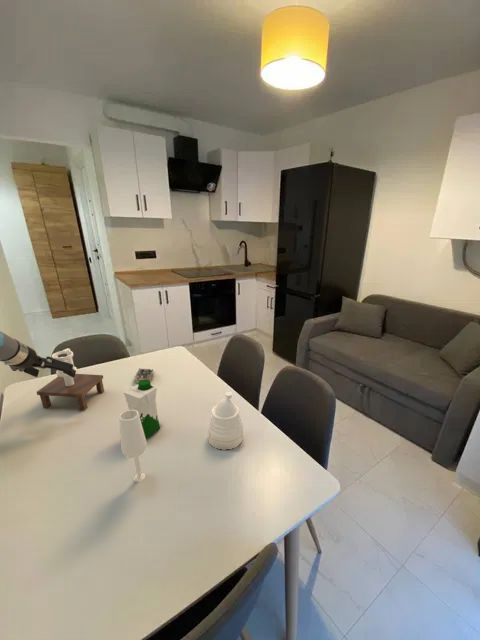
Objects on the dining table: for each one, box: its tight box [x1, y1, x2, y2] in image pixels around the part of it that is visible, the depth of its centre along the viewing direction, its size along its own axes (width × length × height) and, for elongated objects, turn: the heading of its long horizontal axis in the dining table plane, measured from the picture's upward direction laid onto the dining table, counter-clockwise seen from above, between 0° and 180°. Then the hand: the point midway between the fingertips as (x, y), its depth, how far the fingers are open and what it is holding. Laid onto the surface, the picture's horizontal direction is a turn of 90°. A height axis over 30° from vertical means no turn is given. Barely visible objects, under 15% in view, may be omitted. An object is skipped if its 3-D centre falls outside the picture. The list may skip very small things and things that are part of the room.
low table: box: [36, 373, 105, 411], centre depth 123 cm, size 18×16×8 cm
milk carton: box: [123, 380, 161, 440], centre depth 104 cm, size 9×9×20 cm
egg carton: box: [133, 367, 154, 385], centre depth 142 cm, size 11×8×4 cm
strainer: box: [51, 348, 78, 386], centre depth 118 cm, size 7×7×15 cm
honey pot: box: [207, 391, 244, 451], centre depth 103 cm, size 13×13×18 cm
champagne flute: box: [118, 409, 148, 482], centre depth 83 cm, size 7×7×24 cm
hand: (56, 373), depth 112 cm, fingers open, 13 cm apart
